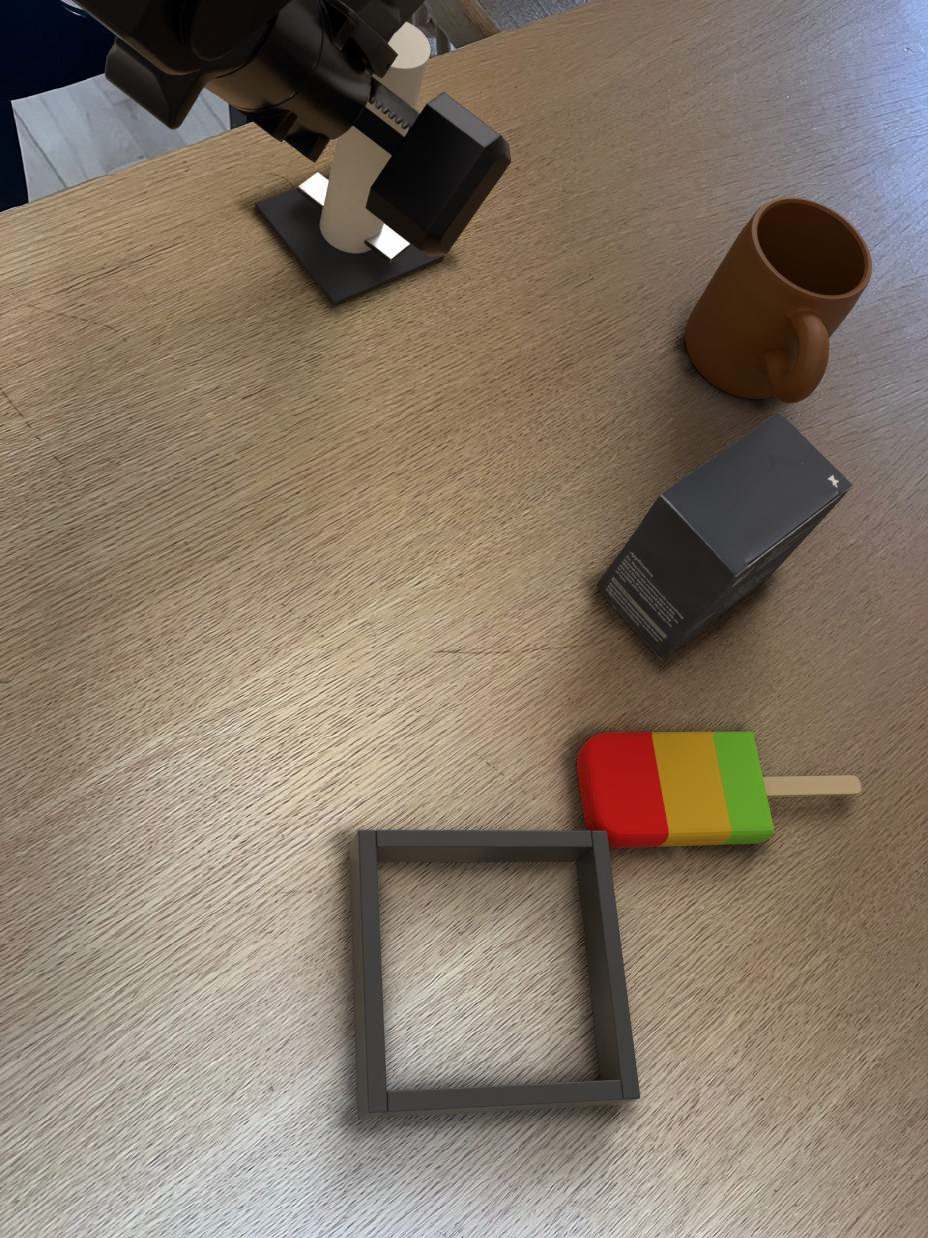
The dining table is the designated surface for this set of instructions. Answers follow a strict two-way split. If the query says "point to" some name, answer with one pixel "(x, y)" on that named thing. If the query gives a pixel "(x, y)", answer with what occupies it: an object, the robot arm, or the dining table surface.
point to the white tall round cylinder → (368, 162)
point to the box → (721, 533)
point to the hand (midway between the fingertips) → (373, 128)
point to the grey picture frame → (601, 959)
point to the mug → (778, 301)
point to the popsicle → (686, 788)
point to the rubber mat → (333, 250)
